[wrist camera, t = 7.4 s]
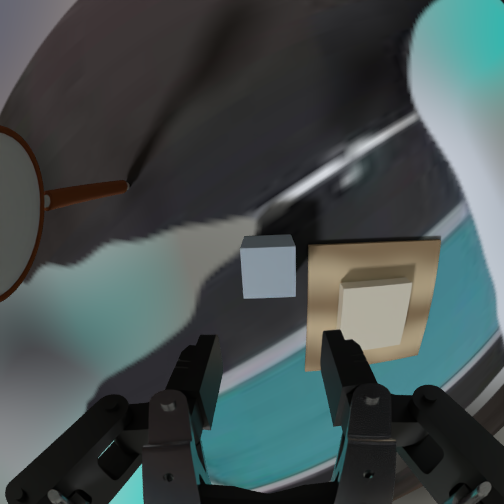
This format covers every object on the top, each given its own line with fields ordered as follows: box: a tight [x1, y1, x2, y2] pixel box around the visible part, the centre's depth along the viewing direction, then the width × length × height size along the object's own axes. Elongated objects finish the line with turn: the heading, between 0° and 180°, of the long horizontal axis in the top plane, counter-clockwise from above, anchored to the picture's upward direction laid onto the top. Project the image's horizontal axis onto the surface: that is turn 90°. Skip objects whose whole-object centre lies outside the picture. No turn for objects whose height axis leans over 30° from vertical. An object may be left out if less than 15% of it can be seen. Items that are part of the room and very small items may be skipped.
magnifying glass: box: [0, 126, 129, 302], centre depth 13 cm, size 9×2×20 cm, turn 173°
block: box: [240, 234, 296, 298], centre depth 22 cm, size 4×4×4 cm
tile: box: [336, 277, 412, 350], centre depth 24 cm, size 7×2×7 cm
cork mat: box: [305, 239, 441, 372], centre depth 25 cm, size 14×14×1 cm
